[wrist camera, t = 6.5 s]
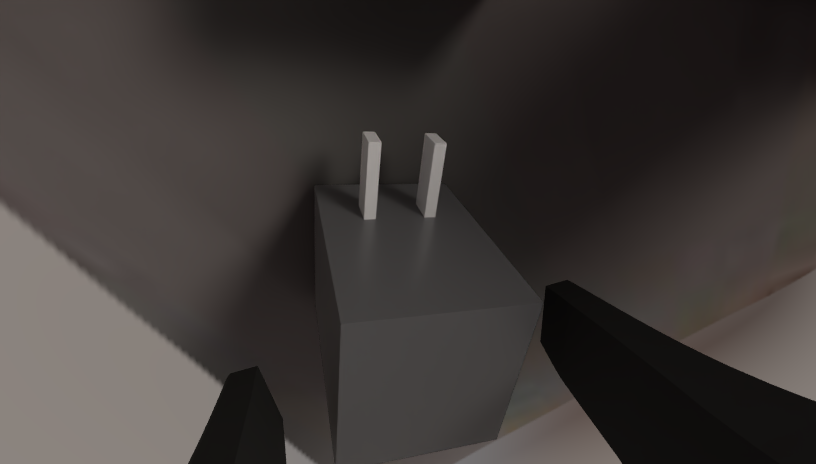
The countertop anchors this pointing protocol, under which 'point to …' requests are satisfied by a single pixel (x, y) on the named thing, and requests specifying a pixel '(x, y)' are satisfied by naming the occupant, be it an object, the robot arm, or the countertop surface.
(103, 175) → the countertop surface
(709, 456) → the robot arm
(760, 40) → the countertop surface
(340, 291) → the charger
